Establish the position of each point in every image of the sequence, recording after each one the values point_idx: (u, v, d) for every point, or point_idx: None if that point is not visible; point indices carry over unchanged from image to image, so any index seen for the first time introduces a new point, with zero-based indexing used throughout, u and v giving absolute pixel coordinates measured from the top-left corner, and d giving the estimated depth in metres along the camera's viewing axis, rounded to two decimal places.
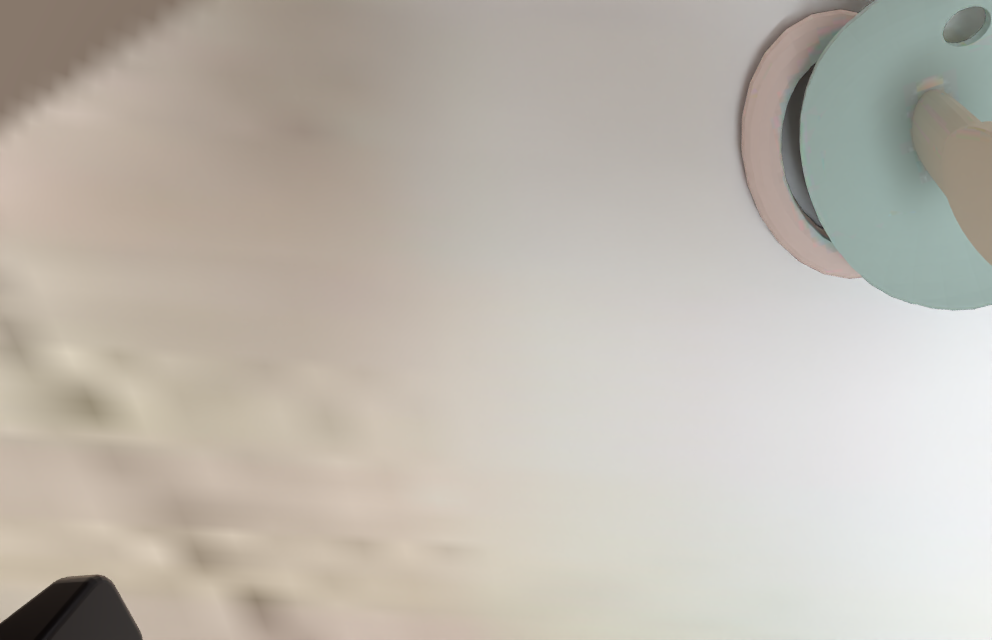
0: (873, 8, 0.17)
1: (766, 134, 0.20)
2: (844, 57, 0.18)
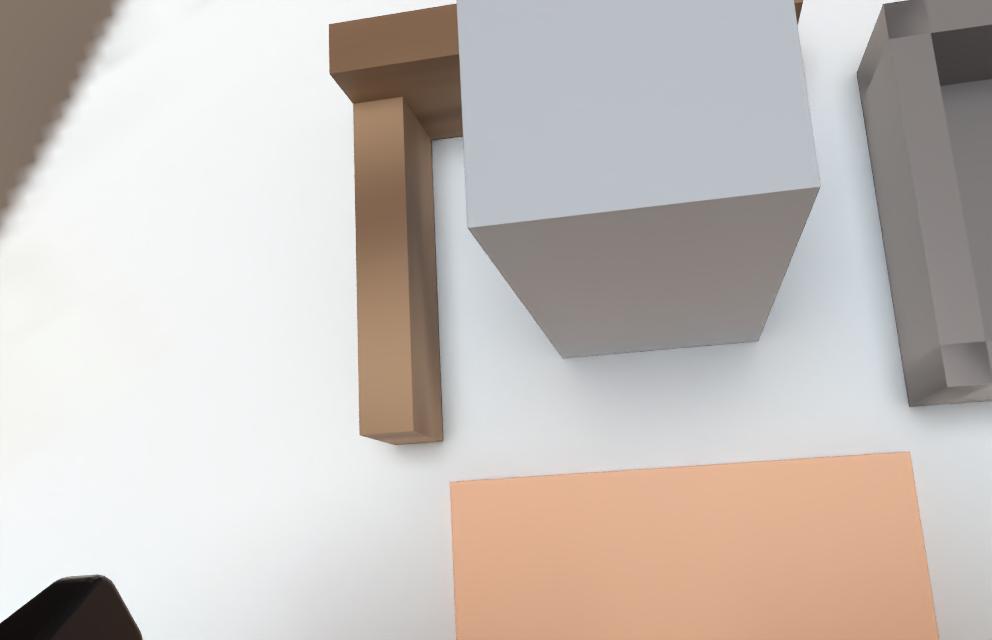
0: None
1: None
2: None
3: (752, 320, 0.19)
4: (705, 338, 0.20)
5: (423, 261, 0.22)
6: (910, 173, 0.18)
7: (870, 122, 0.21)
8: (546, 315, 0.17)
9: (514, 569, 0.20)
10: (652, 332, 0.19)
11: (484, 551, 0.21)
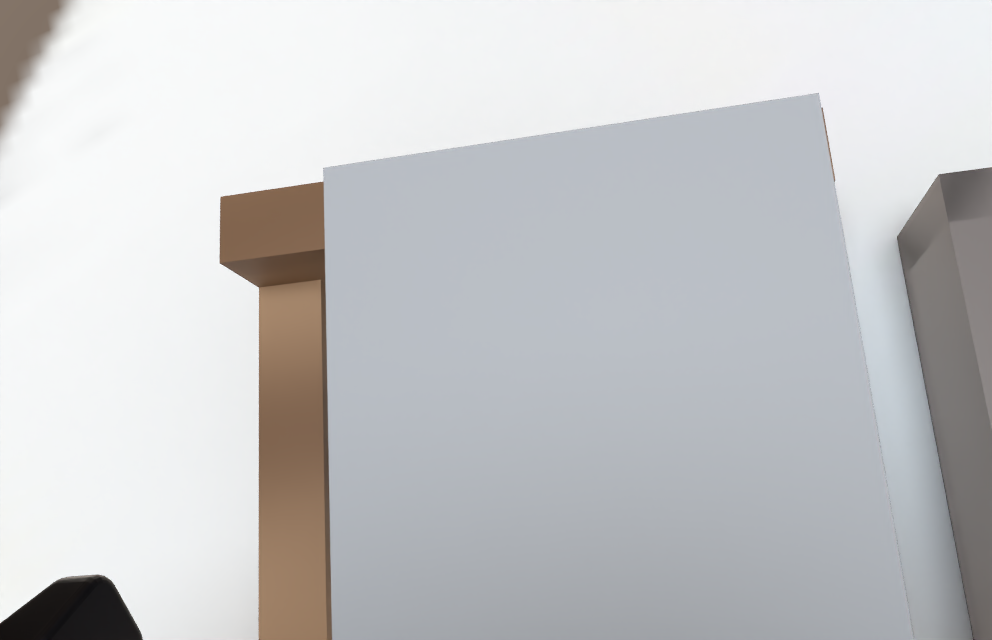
0: None
1: None
2: None
3: None
4: None
5: None
6: (985, 407, 0.13)
7: (918, 307, 0.16)
8: None
9: None
10: None
11: None
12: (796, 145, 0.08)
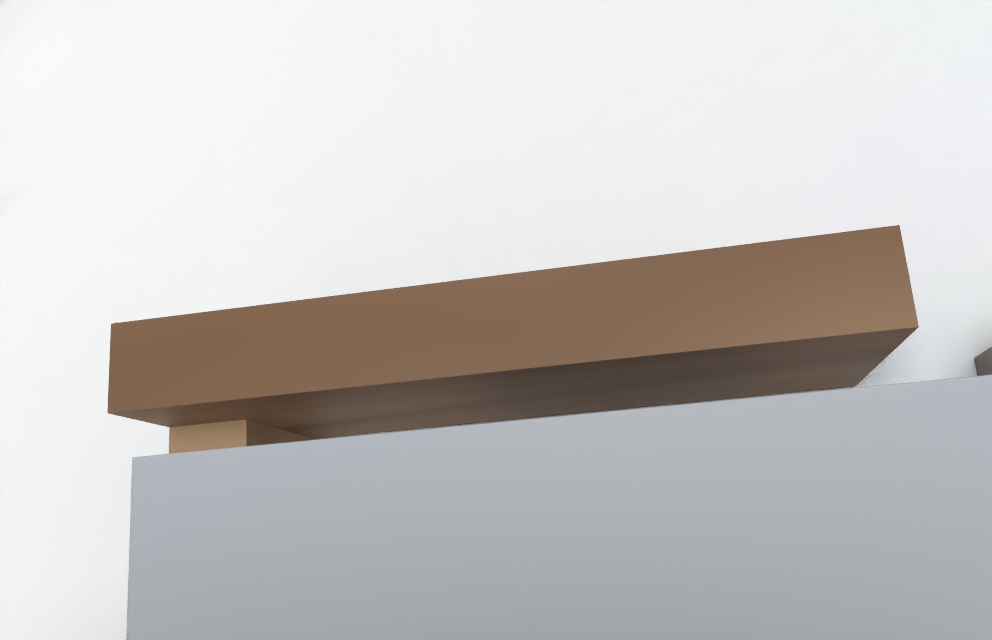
0: None
1: None
2: None
3: None
4: None
5: None
6: None
7: None
8: None
9: None
10: None
11: None
12: (965, 475, 0.04)
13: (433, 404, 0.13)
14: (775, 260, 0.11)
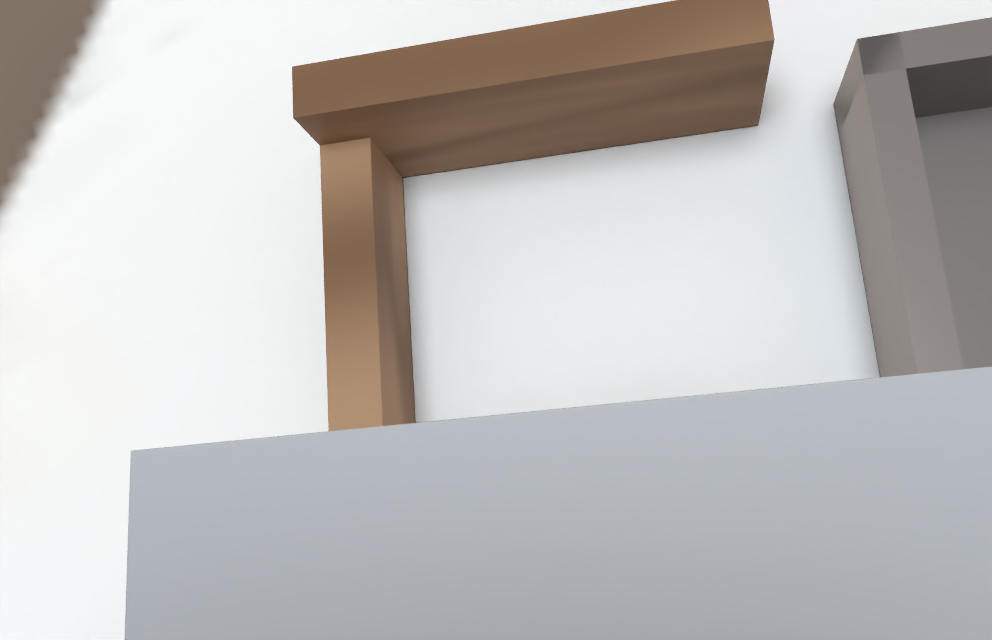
0: None
1: None
2: None
3: None
4: None
5: (395, 304, 0.21)
6: (887, 212, 0.18)
7: (848, 156, 0.21)
8: None
9: None
10: None
11: None
12: (963, 467, 0.04)
13: (488, 126, 0.21)
14: (694, 8, 0.18)
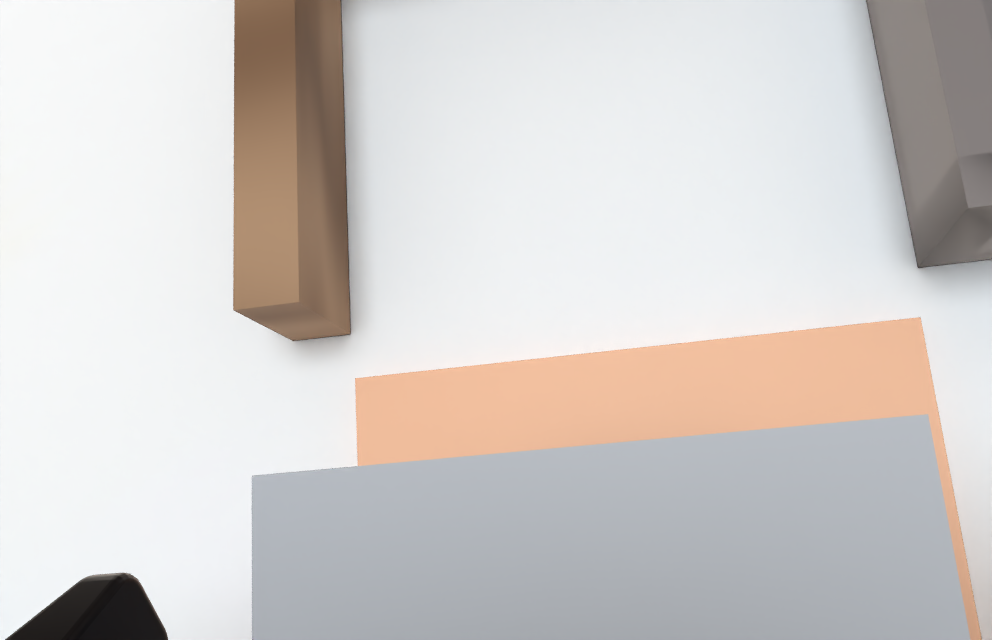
0: None
1: None
2: None
3: None
4: None
5: (323, 114, 0.18)
6: None
7: None
8: None
9: None
10: None
11: (396, 460, 0.17)
12: (898, 491, 0.06)
13: None
14: None
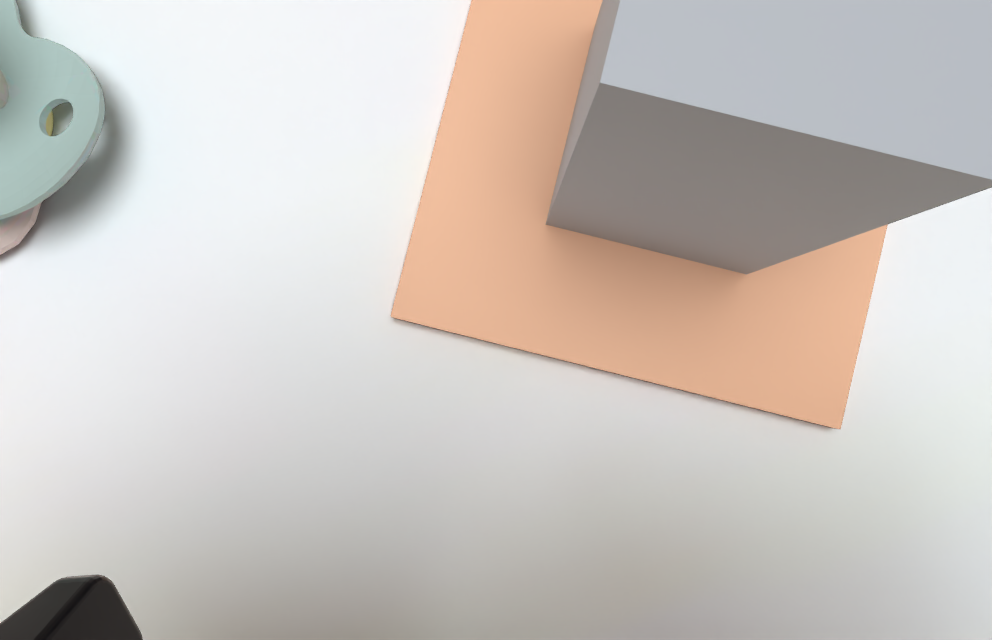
0: None
1: None
2: None
3: (766, 258, 0.18)
4: (702, 256, 0.19)
5: None
6: None
7: None
8: (577, 186, 0.15)
9: None
10: (659, 235, 0.18)
11: None
12: None
13: None
14: None
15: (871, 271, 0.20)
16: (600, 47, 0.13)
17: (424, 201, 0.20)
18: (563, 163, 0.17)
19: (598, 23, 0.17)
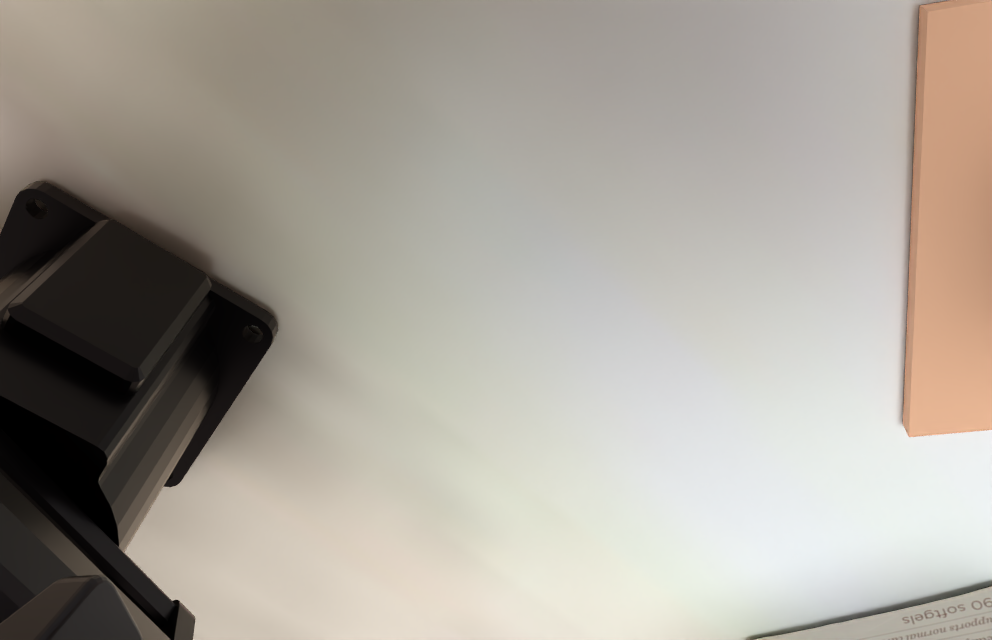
0: None
1: None
2: None
3: None
4: None
5: None
6: None
7: None
8: None
9: None
10: None
11: None
12: None
13: None
14: None
15: None
16: None
17: None
18: None
19: None
